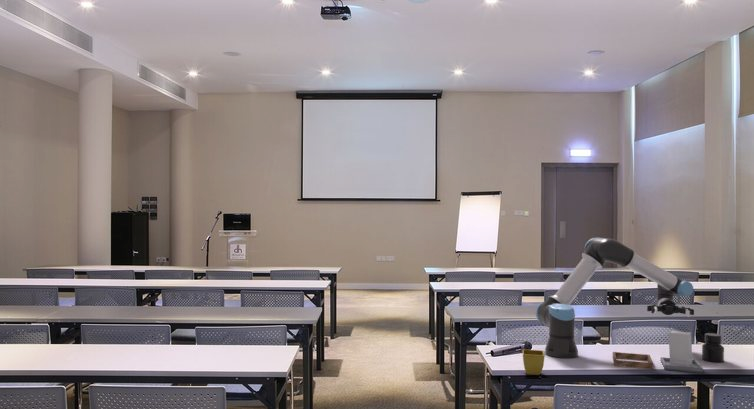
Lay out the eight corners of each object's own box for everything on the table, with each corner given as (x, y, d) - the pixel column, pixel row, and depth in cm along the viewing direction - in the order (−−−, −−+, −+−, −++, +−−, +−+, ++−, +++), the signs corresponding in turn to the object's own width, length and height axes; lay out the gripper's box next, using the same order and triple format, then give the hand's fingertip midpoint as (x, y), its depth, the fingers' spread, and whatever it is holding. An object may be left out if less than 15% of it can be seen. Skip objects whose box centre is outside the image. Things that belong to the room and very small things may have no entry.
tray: (664, 369, 267) (664, 364, 267) (660, 361, 281) (660, 357, 281) (702, 372, 262) (702, 368, 262) (696, 364, 276) (696, 360, 276)
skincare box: (692, 365, 271) (692, 332, 271) (688, 368, 266) (689, 334, 266) (672, 362, 276) (672, 329, 276) (668, 365, 272) (668, 331, 272)
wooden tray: (614, 365, 272) (614, 360, 272) (612, 357, 288) (612, 351, 288) (653, 369, 267) (653, 363, 267) (649, 360, 283) (649, 354, 283)
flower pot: (544, 377, 253) (544, 355, 253) (522, 375, 255) (523, 354, 255) (543, 371, 261) (543, 350, 262) (522, 370, 263) (522, 349, 263)
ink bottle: (729, 362, 280) (729, 336, 280) (712, 363, 278) (712, 337, 278) (713, 357, 290) (713, 332, 290) (697, 358, 288) (697, 332, 288)
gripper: (694, 316, 300) (702, 323, 280) (639, 311, 308) (643, 318, 288) (695, 301, 300) (702, 306, 280) (640, 296, 308) (643, 302, 288)
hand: (672, 312), depth 284 cm, fingers open, 13 cm apart
